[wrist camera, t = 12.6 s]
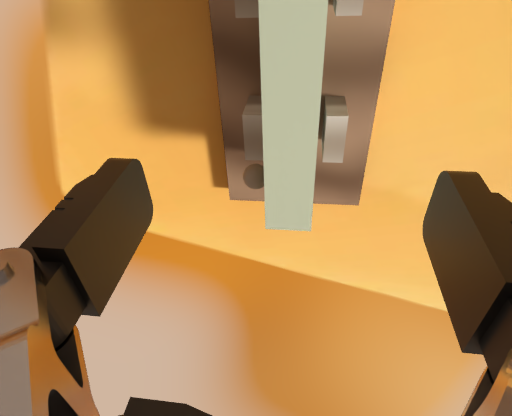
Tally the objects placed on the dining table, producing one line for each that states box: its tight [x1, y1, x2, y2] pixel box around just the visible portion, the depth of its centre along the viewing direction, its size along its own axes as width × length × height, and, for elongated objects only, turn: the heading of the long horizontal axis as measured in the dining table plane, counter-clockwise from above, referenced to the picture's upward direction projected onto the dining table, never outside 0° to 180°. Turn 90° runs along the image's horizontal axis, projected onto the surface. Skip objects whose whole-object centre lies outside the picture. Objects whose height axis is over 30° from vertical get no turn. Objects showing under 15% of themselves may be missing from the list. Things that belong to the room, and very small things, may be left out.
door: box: [243, 0, 328, 231], centre depth 18 cm, size 13×4×8 cm, turn 2°
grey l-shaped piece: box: [209, 0, 395, 205], centre depth 18 cm, size 22×10×12 cm, turn 2°
